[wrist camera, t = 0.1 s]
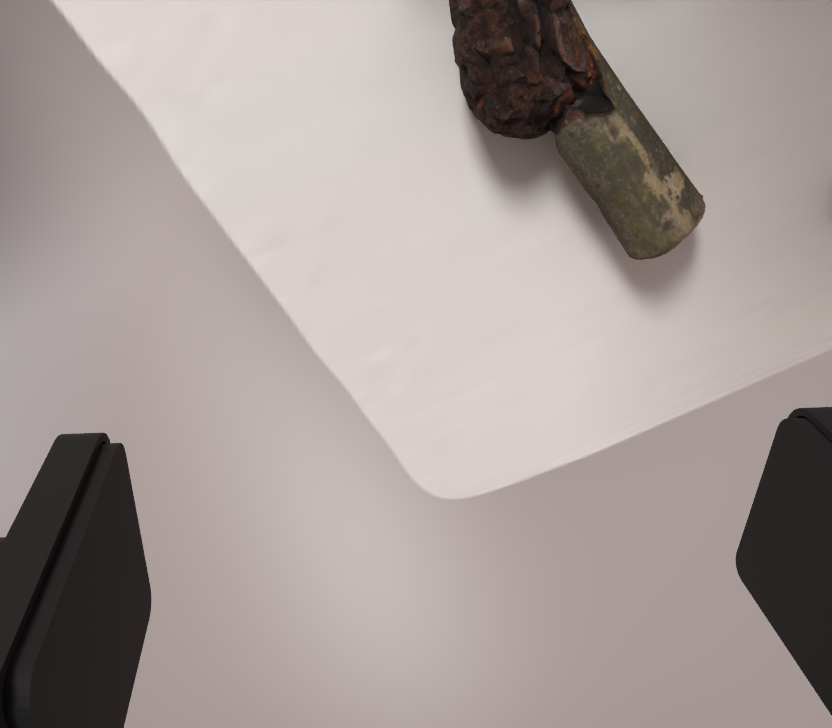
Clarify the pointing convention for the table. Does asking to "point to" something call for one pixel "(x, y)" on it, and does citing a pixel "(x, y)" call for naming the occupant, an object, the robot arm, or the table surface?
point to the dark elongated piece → (573, 114)
